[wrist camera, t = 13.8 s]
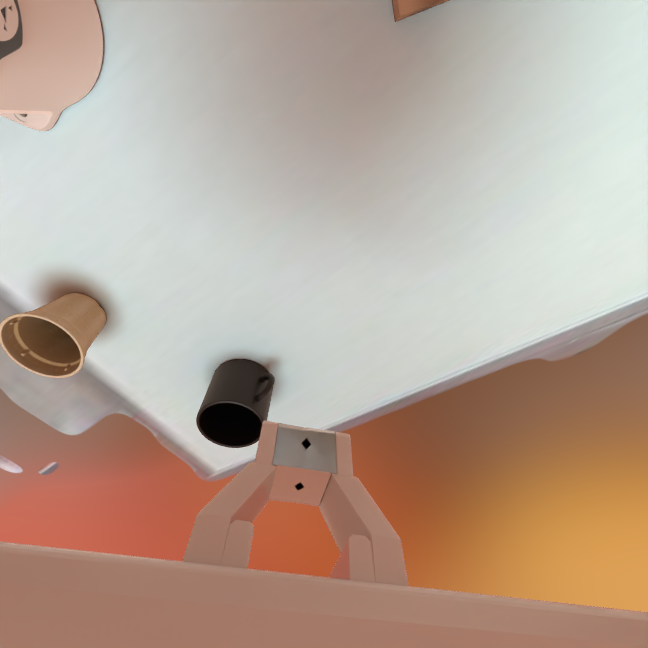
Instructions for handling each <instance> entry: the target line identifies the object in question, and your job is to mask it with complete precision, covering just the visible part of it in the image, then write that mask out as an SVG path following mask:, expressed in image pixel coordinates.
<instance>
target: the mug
mask: <svg viewBox="0 0 648 648" xmlns="http://www.w3.org/2000/svg"><path fill="white" fill-rule="evenodd" d="M273 384H274V377H273V375H272V374H269V373H268V371H267V370H266V369H265V368H263V367H262V366H261V365H259V364H257V363H255V362H252V361H249V360H240V359H238V360H231V361H228V362H226V363H224V364H222V365H221V366H220V367H218V369H217V370H216V371H215V373H214V376H213V378H212V380H211V383H210V385H209V388H208V390H207V393H206V395H205V397H204V400H203V402H202V405H201V407H200V410H199V412H198V414H197V418H196V422H197V427H198V429H199V431H200V432H201V434H202V435H203V436H204V437H206V438H207V439H208V440H210V441H211V442H213V443H215V444H218V445H221V446H225V447H231V448H240V447H246V446H250V445H252V444H254V443H256V442H257V441H259V438H260V433H261V428H262V424H263V421H267V417H268V411H269V406H270V401H271V395H272V390H273Z"/></svg>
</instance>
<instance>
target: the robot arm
mask: <svg viewBox="0 0 648 648" xmlns="http://www.w3.org/2000/svg"><path fill="white" fill-rule="evenodd" d="M102 58H103V36H102V28H101V22H100V18H99V14H98V10H97V7H96V4H95V1H94V0H0V115H1V116H3V117H6V118H8V119H11V120H13V121H15V122H18V123H20V124H22V125H25V126H27V127H29V128H32V129H34V130H39V131H48V130H50V129H51V128H52V127H53V126H54V125H55V123H56V121H57V119H58V118H59V116H60V114H61V112H62V111H63V110H64V109H65V108H67V107H68V106H70V105H72V104H74V103H76V102H78V101H79V100H81V99H82V98H83V97H85V96H86V95H87V94H88V93H89V91H90V90H91V89H92V87H93V86H94V84H95V82H96V80H97V78H98V75H99V72H100V69H101V64H102ZM25 114H27V116H26V115H25ZM269 500H275V501H285V502H294V503H301V504H307V505H313V506H319V509H320V511H321V513H322V515H323V517H324V519H325V521H326V523H327V525H328V528H329V529H330V532H331V534H332V536H333V538H334V540H335V542H336V544H337V546H338V549H339V551H340V553H341V554H340V557H339V558H338V560H337V562H336V564H335V566H334V568H333V570H332V572H331V574H330V576H329V577H319V576H311V575H300V574H292V573H283V572H273V571H265V570H255V569H248V562H249V556H250V549H251V544H252V536H253V530H254V526H253V525H252V522H253V521H254V520H255V518H256V517H257V516H258V515H259V513H260V512H261V511H262V509H263V508H264V507H265V505H266V504H267V503H268V501H269ZM0 648H648V612H640V611H630V610H621V609H613V608H604V607H595V606H584V605H575V604H567V603H557V602H548V601H539V600H530V599H521V598H512V597H502V596H493V595H483V594H474V593H465V592H456V591H447V590H438V589H428V588H420V587H410V586H408V580H407V574H406V568H405V562H404V556H403V550H402V544H401V539H400V538H399V536H398V535H397V533H396V532H395V531H394V529H393V528H392V526H391V525H390V523H389V522H388V520H387V519H386V518H385V516H384V515H383V514H382V512H381V510H380V509H379V508H378V506H377V505H376V503H375V502H374V501H373V499H372V498H371V496H370V495H369V493H368V492H367V490H366V489H365V487H364V486H363V485H362V483H361V482H360V480H359V479H358V478H357V477H353V467H352V455H351V440H350V435H349V434H345V433H339V432H334V431H327V430H320V429H313V428H303V427H298V426H293V425H287V424H282V423H275V422H270V421H263V424H262V428H261V433H260V438H259V443H258V448H257V453H256V458H255V462H250V463H249V464H248V465H247V466H246V467H245V468H244V469H243V470H242V471H241V472H240V473H239V474H238V475H236V476H235V477H234V478H233V480H231V481H230V482H229V484H227V485H226V486H225V487H224V488H223V489H222V490H221V491H220V492H219V493H218V494H217V495H216V496H215V497H214V498H213V499H212V500H211V501H210V502H209V503H208V504H207V505H206V506H205V507H204V508H203V509H202V510H201V511H200V512H199V513H198V514H197V517H196V520H195V524H194V527H193V530H192V533H191V536H190V539H189V542H188V546H187V549H186V552H185V555H184V558H183V561H182V562H181V561H173V560H163V559H153V558H145V557H135V556H126V555H118V554H108V553H99V552H89V551H81V550H72V549H62V548H53V547H43V546H35V545H26V544H16V543H7V542H0Z"/></svg>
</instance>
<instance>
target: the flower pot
mask: <svg viewBox="0 0 648 648" xmlns="http://www.w3.org/2000/svg"><path fill="white" fill-rule="evenodd" d="M105 323H106V315H105V312H104V310H103V309H102V308H101V307H100V306H99V305H98V303H97V302H96V301H95V300H94V299H92V298H91V297H89V296H86V295H84V294H80V293H70V294H67V295H64V296H62V297H60V298H58V299H56V300H54V301H52V302H50V303H48V304H46V305H44V306H42V307H40V308H38V309H36V310H33V311H29V312H25V313H18V314H14V315H11V316H9V317H8V318H6V319H5V320H4V321H3V322H2V323H1V324H0V343H1V345H2V347H3V348H4V350H5V352H6V353H7V354H8V356H9V357H10V358H11V359H13V360H14V361H15V362H16V363H17V364H19V365H20V366H22V367H24V368H25V369H27V370H29V371H31V372H33V373H36V374H39V375H42V376H46V377H52V378H63V377H69V376H72V375H74V374H75V373H77V372H78V371H79V370H80V369H81V367H82V366H83V364H84V358H85V356H86V352H87V350H88V348H89V347H90V346H91V344H92V343H93V341H94V340H95V338H96V337H97V335H98V334H99V332H100V331H101V329H102V328H103V327H104V325H105Z"/></svg>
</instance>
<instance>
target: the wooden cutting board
mask: <svg viewBox="0 0 648 648" xmlns="http://www.w3.org/2000/svg"><path fill="white" fill-rule="evenodd" d="M447 1H449V0H392V4H393V10H394V17H395V22H396V21H399V20H401V19H404V18H406V17H409V16H411V15H414V14H416V13H419V12H421V11H424V10H426V9H429V8H431V7H434V6H437V5H439V4H442V3H444V2H447Z"/></svg>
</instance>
